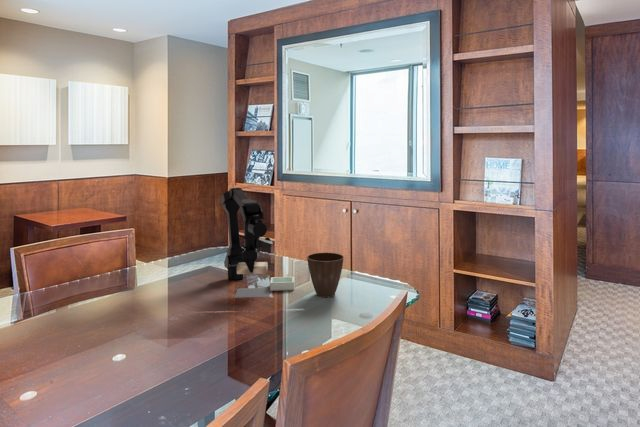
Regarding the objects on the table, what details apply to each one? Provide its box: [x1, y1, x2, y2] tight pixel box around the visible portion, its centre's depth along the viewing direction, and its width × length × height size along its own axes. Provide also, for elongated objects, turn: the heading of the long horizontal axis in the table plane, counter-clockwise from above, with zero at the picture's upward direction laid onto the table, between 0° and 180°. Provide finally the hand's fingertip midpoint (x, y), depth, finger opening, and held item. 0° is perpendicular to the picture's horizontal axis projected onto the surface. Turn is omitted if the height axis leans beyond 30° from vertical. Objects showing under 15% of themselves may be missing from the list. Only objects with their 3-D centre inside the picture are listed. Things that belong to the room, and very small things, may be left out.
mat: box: [233, 287, 271, 299], centre depth 197 cm, size 14×12×1 cm
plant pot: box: [306, 252, 344, 298], centre depth 195 cm, size 15×15×16 cm
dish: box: [269, 276, 295, 292], centre depth 204 cm, size 10×8×4 cm
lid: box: [237, 261, 269, 275], centre depth 196 cm, size 12×7×4 cm, turn 93°
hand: (252, 270), depth 196 cm, fingers closed on lid, 7 cm apart
